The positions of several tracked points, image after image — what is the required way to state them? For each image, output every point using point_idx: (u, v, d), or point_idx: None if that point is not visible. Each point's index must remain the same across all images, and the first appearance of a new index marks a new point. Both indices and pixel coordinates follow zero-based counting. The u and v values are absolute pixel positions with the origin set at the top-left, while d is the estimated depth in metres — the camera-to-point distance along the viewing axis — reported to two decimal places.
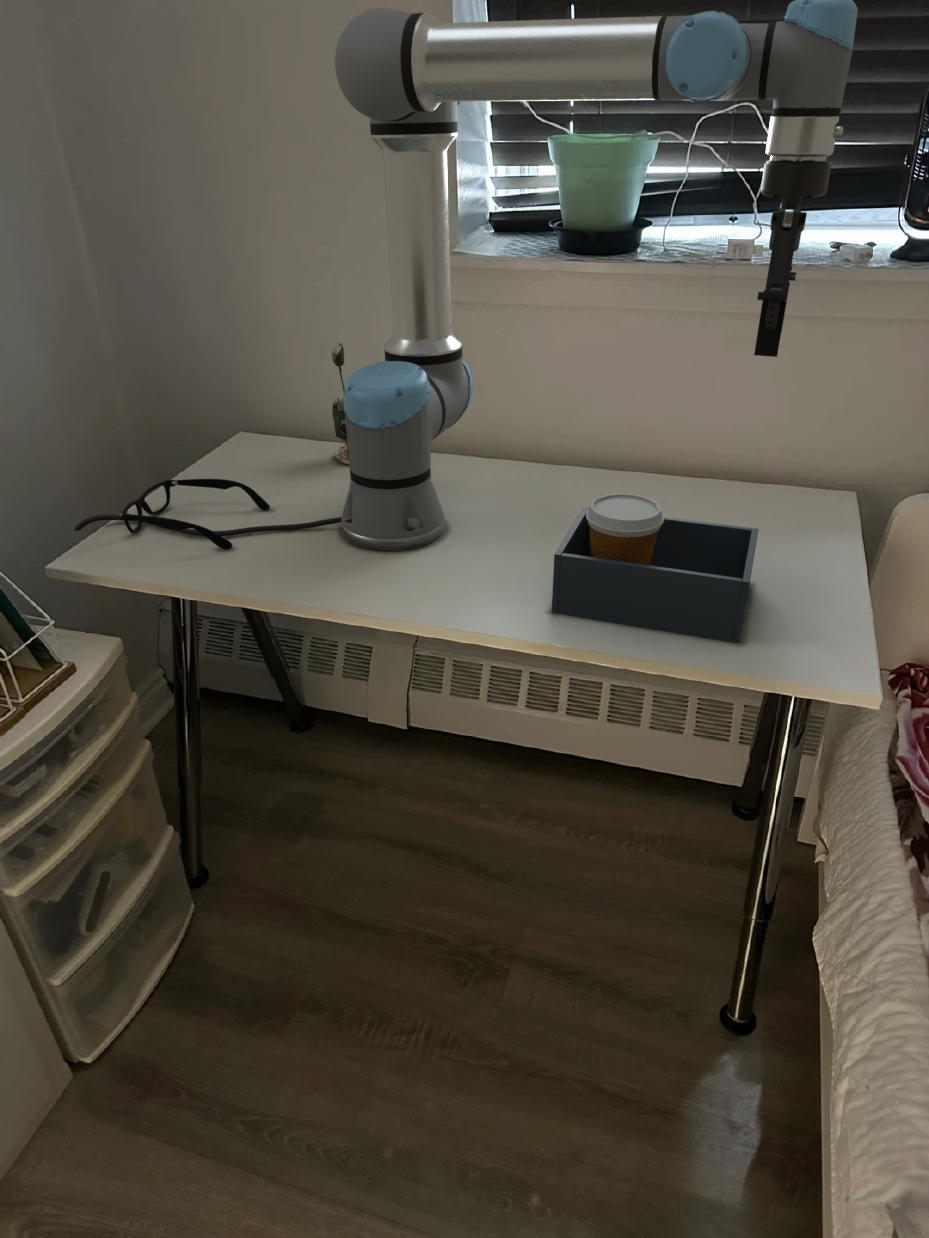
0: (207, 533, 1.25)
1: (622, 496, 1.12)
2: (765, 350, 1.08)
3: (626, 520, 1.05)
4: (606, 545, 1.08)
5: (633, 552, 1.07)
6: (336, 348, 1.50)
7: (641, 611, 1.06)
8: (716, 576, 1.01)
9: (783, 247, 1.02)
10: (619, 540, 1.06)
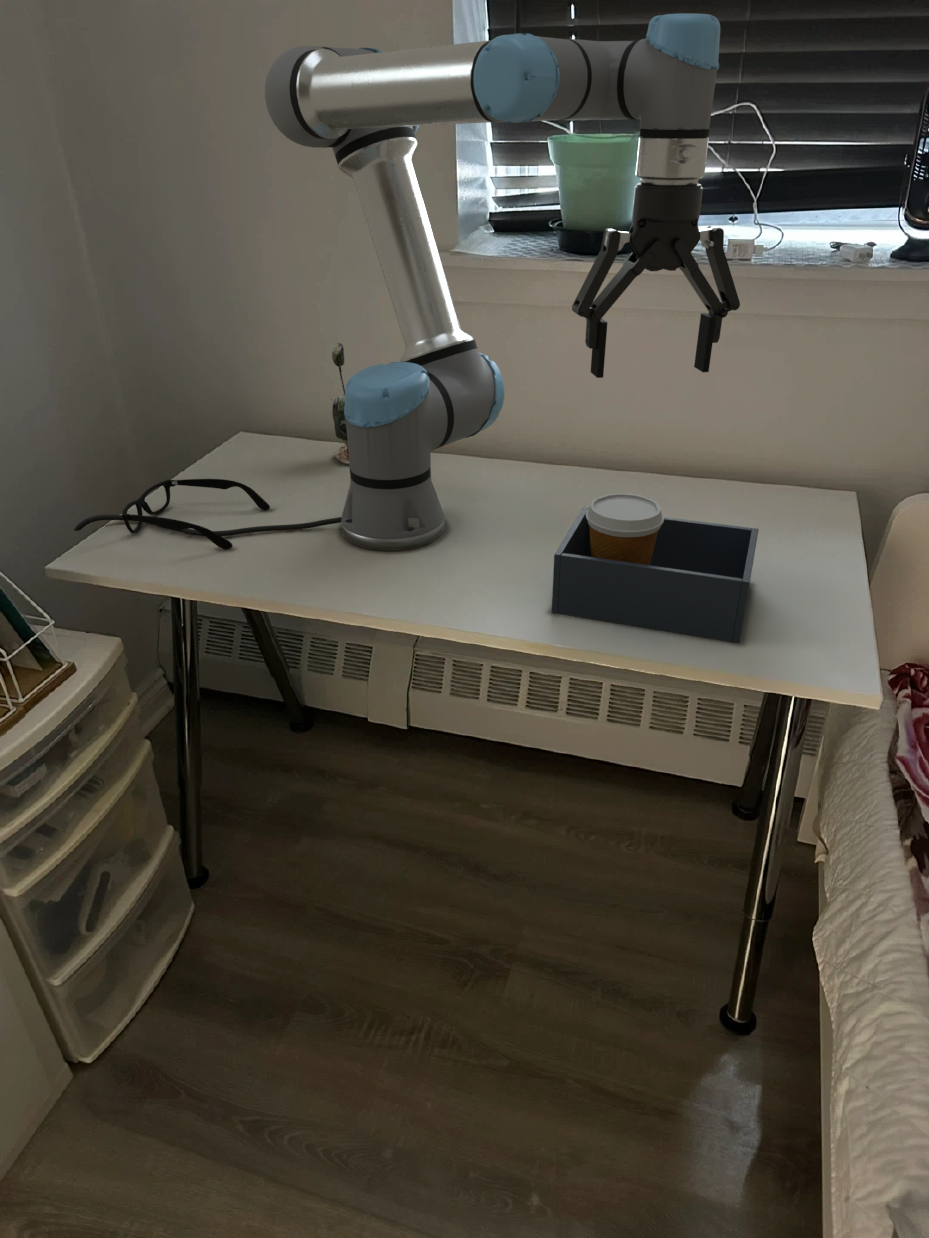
0: (207, 533, 1.25)
1: (622, 496, 1.12)
2: (594, 369, 1.08)
3: (626, 520, 1.05)
4: (606, 545, 1.08)
5: (633, 552, 1.07)
6: (336, 348, 1.50)
7: (641, 611, 1.06)
8: (716, 576, 1.01)
9: (595, 267, 1.02)
10: (619, 540, 1.06)
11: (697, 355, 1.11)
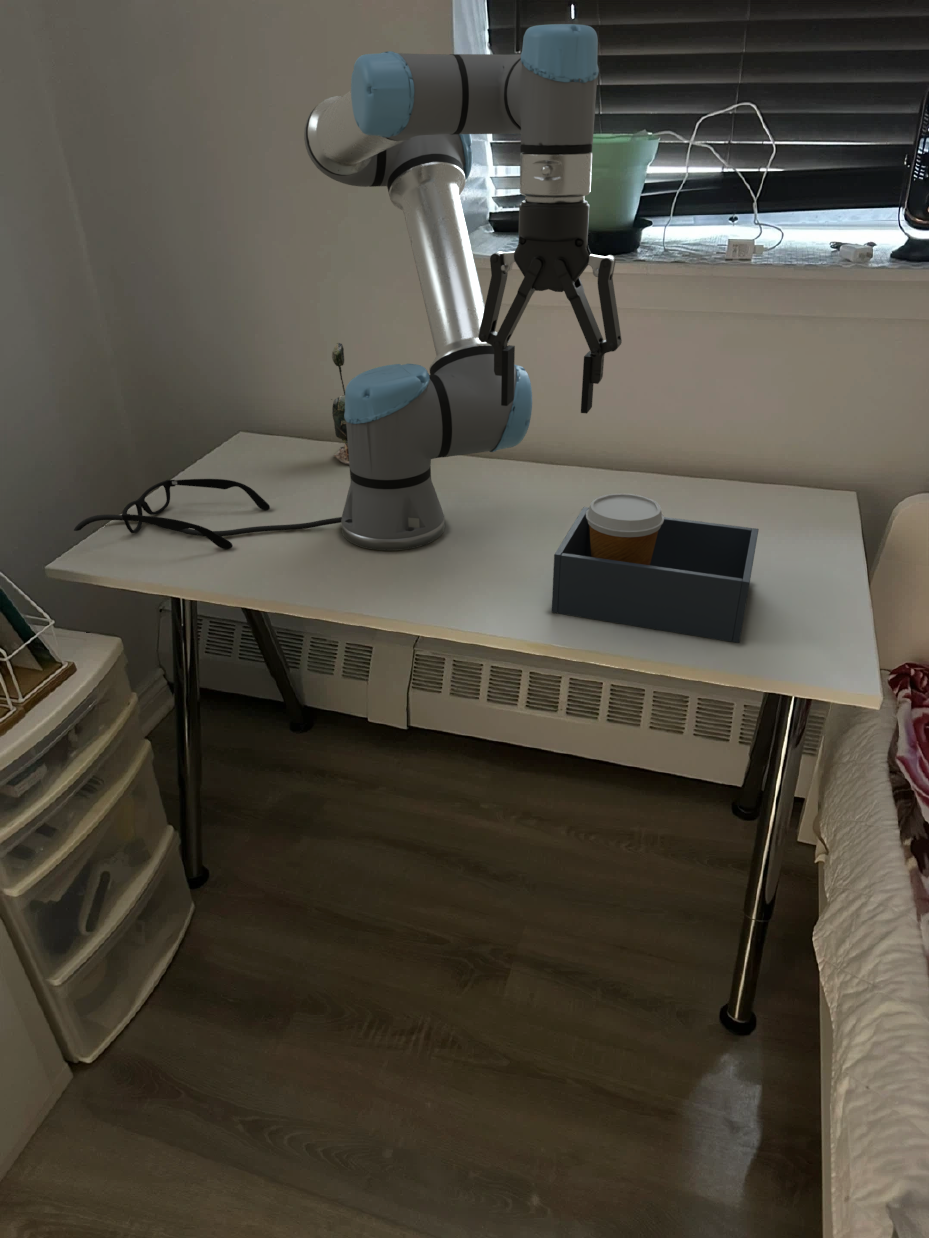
0: (207, 533, 1.25)
1: (622, 496, 1.12)
2: None
3: (626, 520, 1.05)
4: (606, 545, 1.08)
5: (633, 552, 1.07)
6: (336, 348, 1.50)
7: (641, 611, 1.06)
8: (716, 576, 1.01)
9: None
10: (619, 540, 1.06)
11: None
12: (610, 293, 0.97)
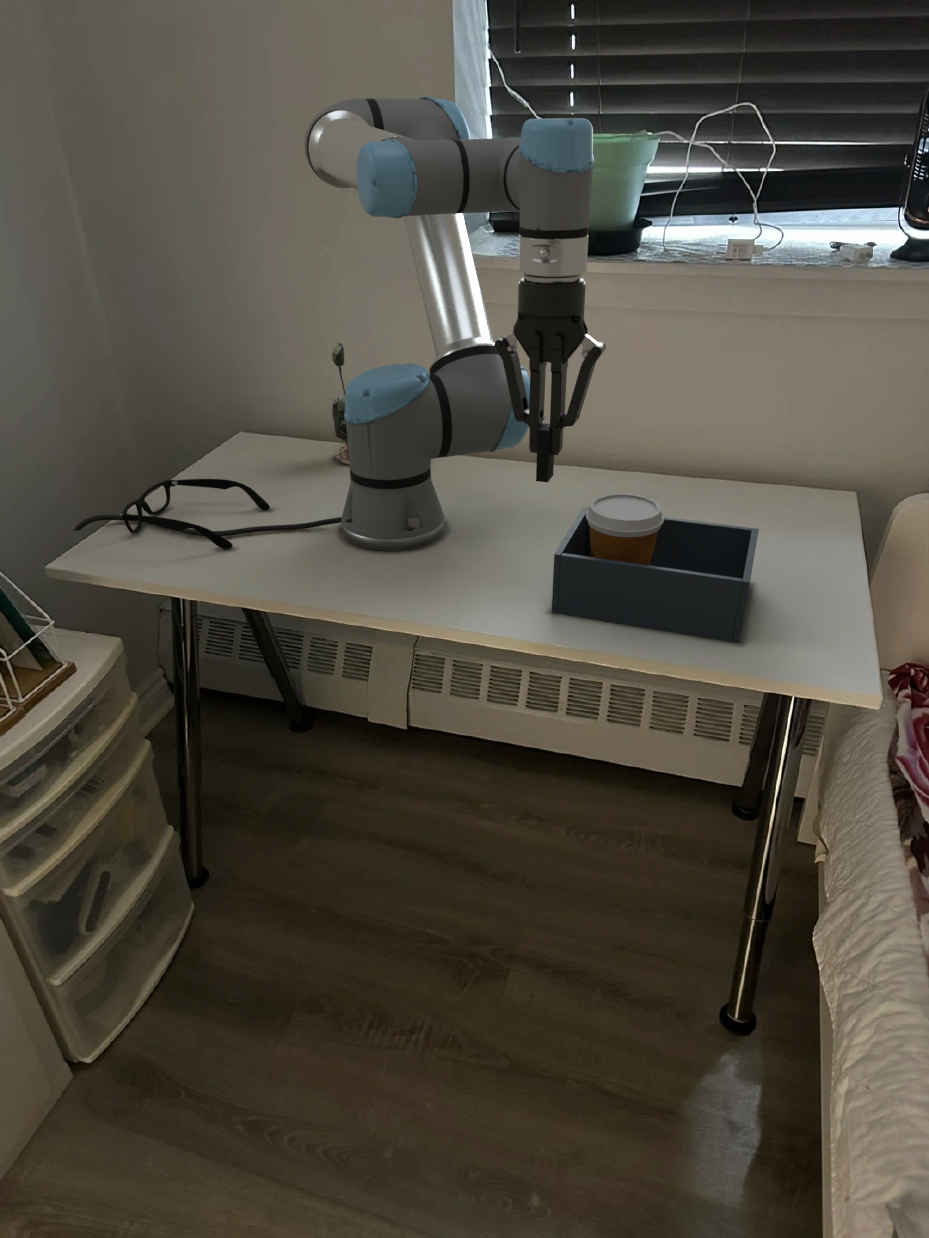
0: (207, 533, 1.25)
1: (622, 496, 1.12)
2: None
3: (626, 520, 1.05)
4: (606, 545, 1.08)
5: (633, 552, 1.07)
6: (336, 348, 1.50)
7: (641, 611, 1.06)
8: (716, 576, 1.01)
9: None
10: (619, 540, 1.06)
11: None
12: (588, 377, 1.02)
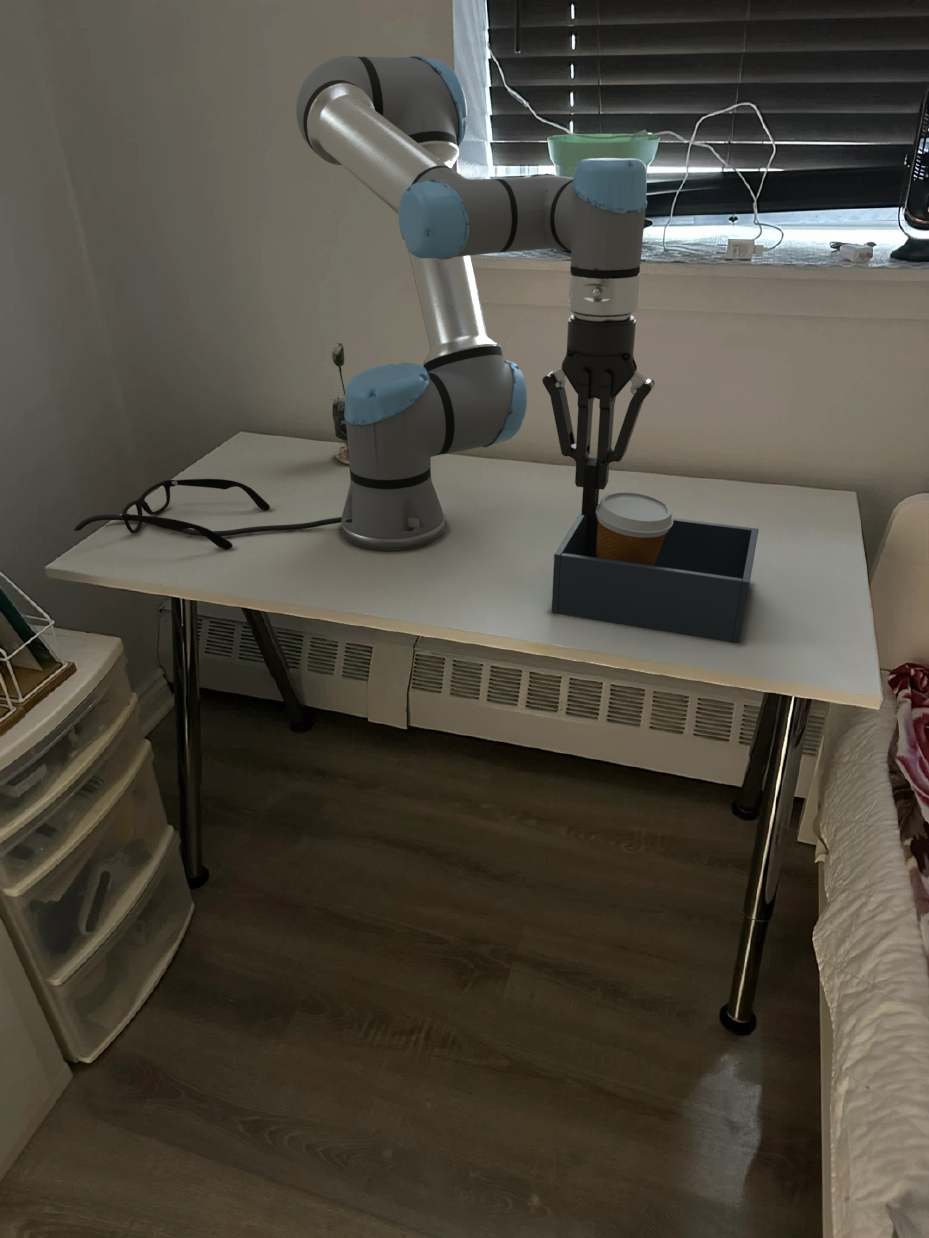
0: (207, 533, 1.25)
1: (632, 494, 1.11)
2: None
3: (637, 520, 1.04)
4: (614, 543, 1.07)
5: (640, 552, 1.07)
6: (336, 348, 1.50)
7: (641, 611, 1.06)
8: (716, 576, 1.01)
9: None
10: (628, 539, 1.06)
11: None
12: (637, 413, 1.02)
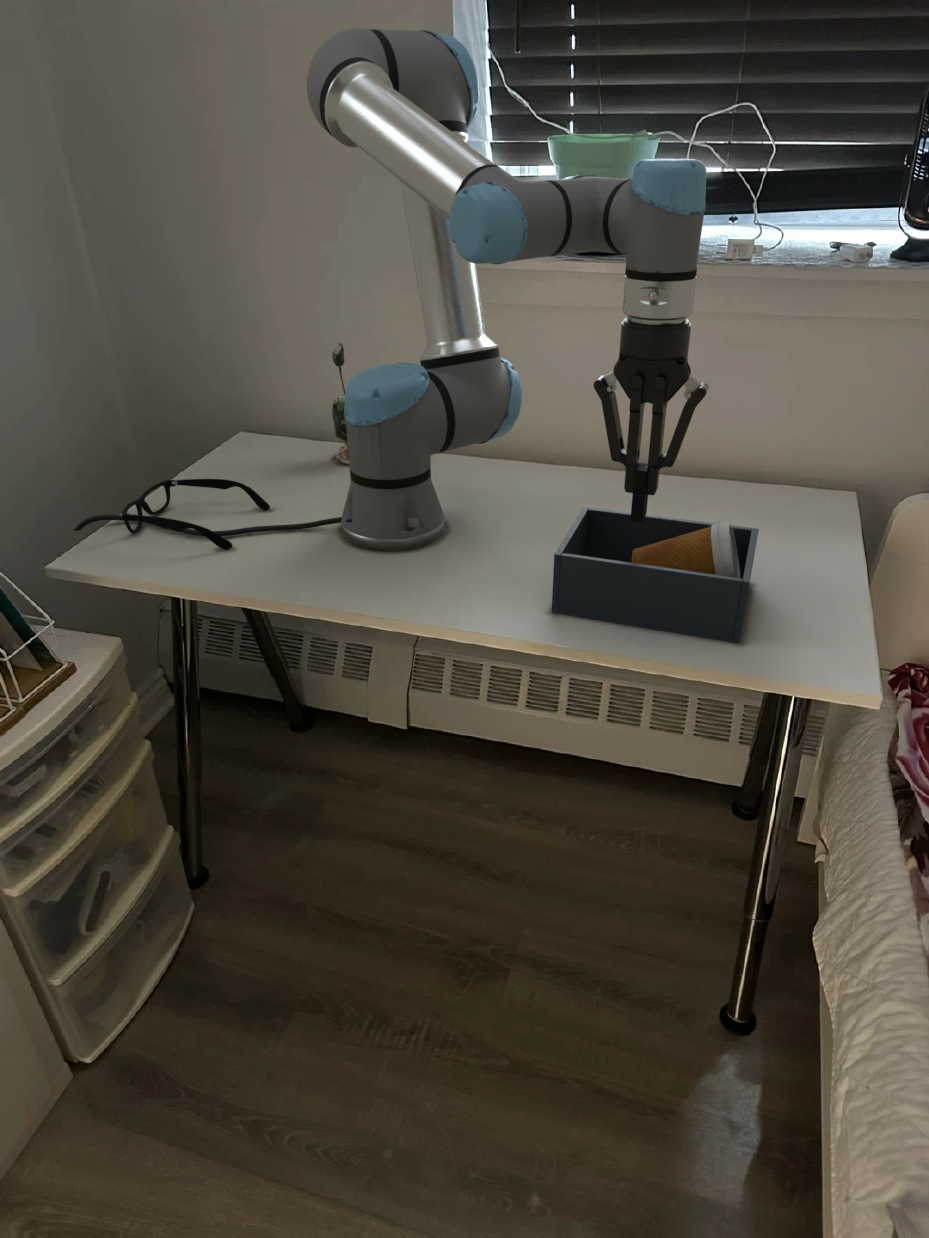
0: (207, 533, 1.25)
1: (732, 540, 1.11)
2: None
3: (735, 577, 1.05)
4: (699, 564, 1.06)
5: None
6: (336, 348, 1.50)
7: (641, 611, 1.06)
8: (716, 576, 1.01)
9: None
10: None
11: None
12: (690, 418, 1.00)
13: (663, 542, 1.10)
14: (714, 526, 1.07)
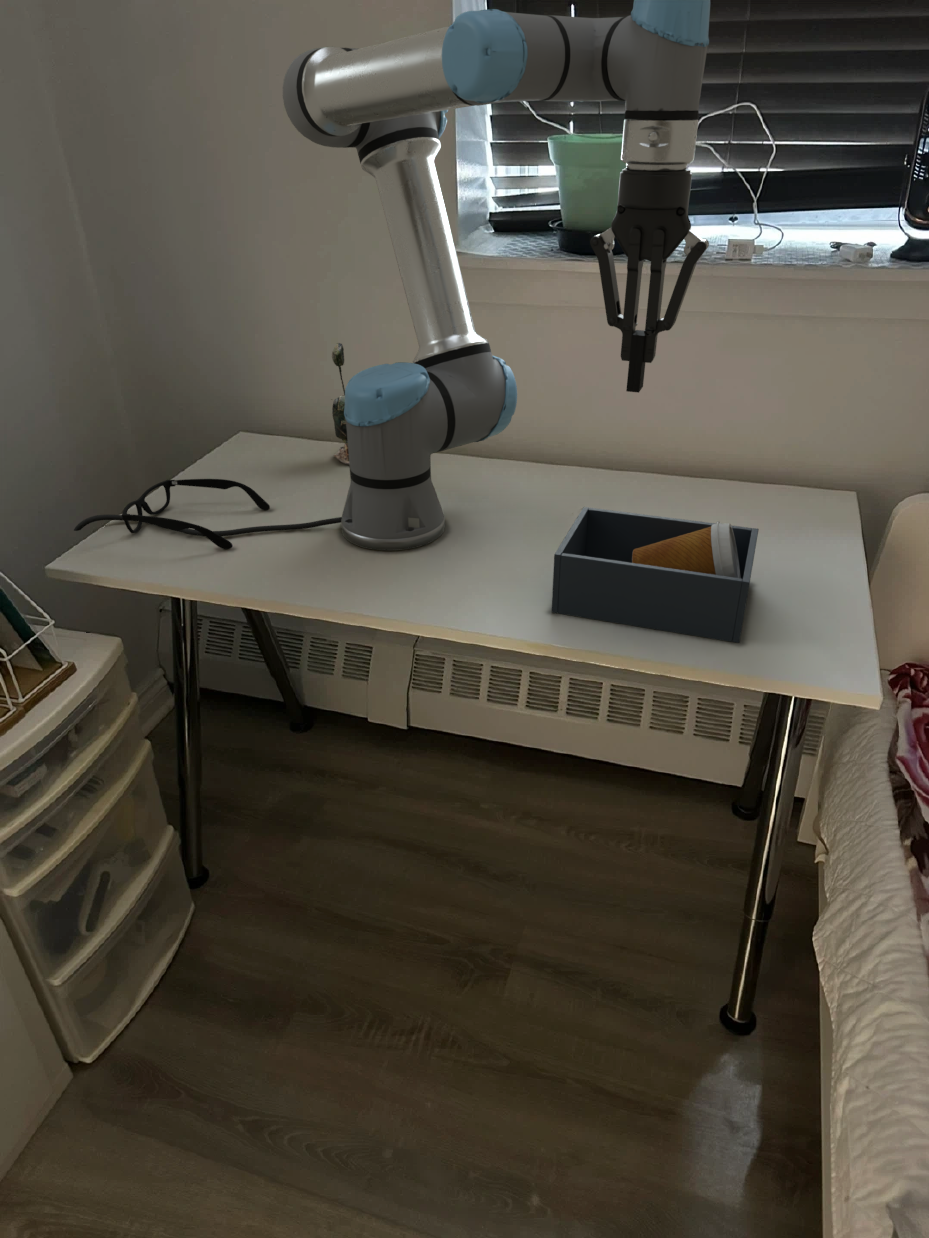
0: (207, 533, 1.25)
1: (732, 540, 1.11)
2: None
3: (735, 577, 1.05)
4: (699, 564, 1.06)
5: None
6: (336, 348, 1.50)
7: (641, 611, 1.06)
8: (716, 576, 1.01)
9: None
10: None
11: None
12: (690, 276, 0.97)
13: (663, 542, 1.10)
14: (714, 526, 1.07)
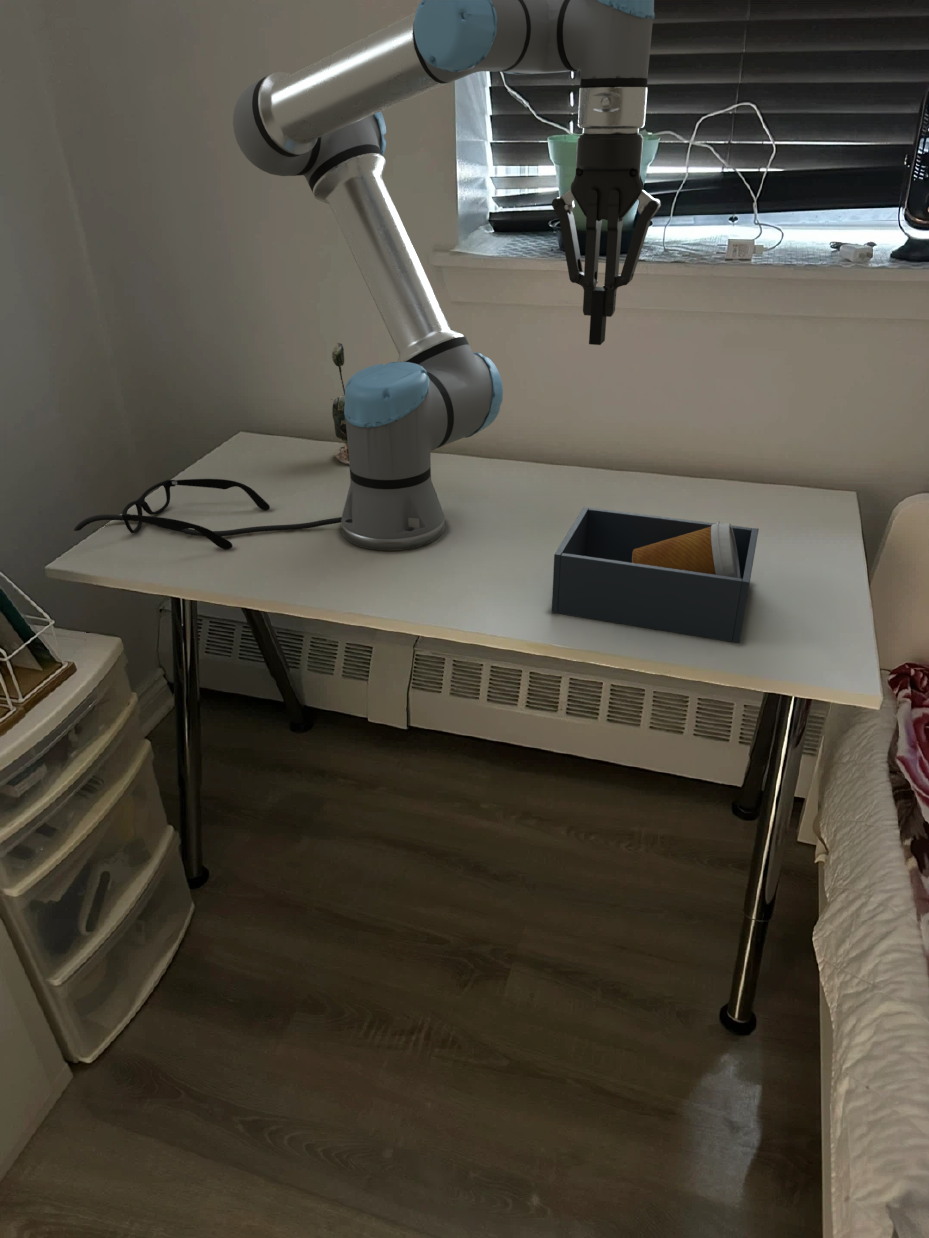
0: (207, 533, 1.25)
1: (732, 540, 1.11)
2: None
3: (735, 577, 1.05)
4: (699, 564, 1.06)
5: None
6: (336, 348, 1.50)
7: (641, 611, 1.06)
8: (716, 576, 1.01)
9: None
10: None
11: None
12: (644, 233, 1.04)
13: (663, 542, 1.10)
14: (714, 526, 1.07)
